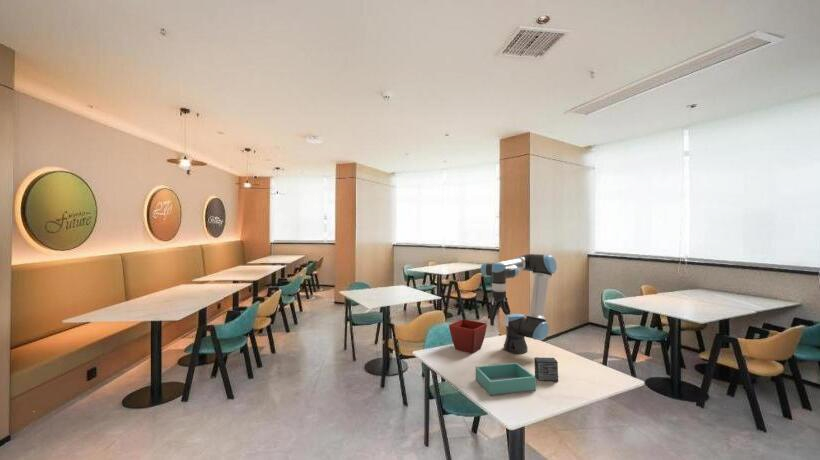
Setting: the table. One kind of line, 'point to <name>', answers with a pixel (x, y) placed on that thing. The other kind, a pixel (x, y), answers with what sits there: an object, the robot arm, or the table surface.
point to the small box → (546, 369)
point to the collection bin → (505, 379)
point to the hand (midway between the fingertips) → (499, 328)
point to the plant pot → (467, 335)
